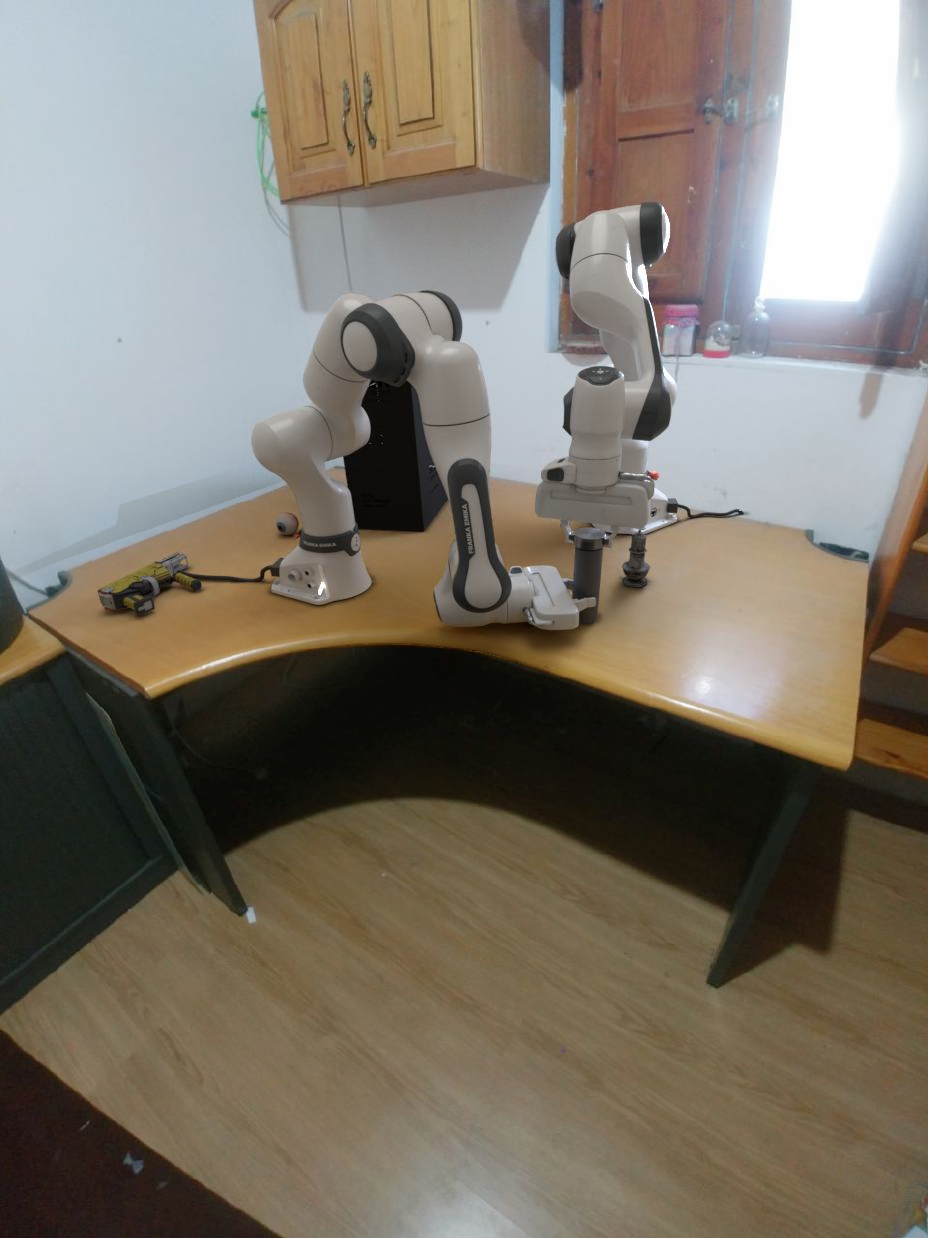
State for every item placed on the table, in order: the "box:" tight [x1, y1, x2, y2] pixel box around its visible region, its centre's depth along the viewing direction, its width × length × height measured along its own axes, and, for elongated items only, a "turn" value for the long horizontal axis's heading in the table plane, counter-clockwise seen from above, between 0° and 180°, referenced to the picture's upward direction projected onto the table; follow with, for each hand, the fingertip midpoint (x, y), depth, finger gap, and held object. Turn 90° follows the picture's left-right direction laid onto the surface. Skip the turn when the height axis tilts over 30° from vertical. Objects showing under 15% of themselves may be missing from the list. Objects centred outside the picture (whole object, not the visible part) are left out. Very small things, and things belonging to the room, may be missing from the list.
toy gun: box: [97, 551, 203, 617], centre depth 137 cm, size 5×24×15 cm
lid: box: [573, 527, 607, 550], centre depth 110 cm, size 6×6×2 cm
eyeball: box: [275, 511, 300, 536], centre depth 163 cm, size 6×6×6 cm
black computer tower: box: [342, 380, 449, 532], centre depth 169 cm, size 38×20×45 cm, turn 167°
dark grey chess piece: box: [621, 529, 651, 588], centre depth 127 cm, size 6×6×12 cm
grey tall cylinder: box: [571, 545, 604, 624], centre depth 114 cm, size 5×5×17 cm
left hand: (590, 592), depth 116 cm, fingers closed on grey tall cylinder, 5 cm apart
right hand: (588, 544), depth 111 cm, fingers closed on lid, 5 cm apart
